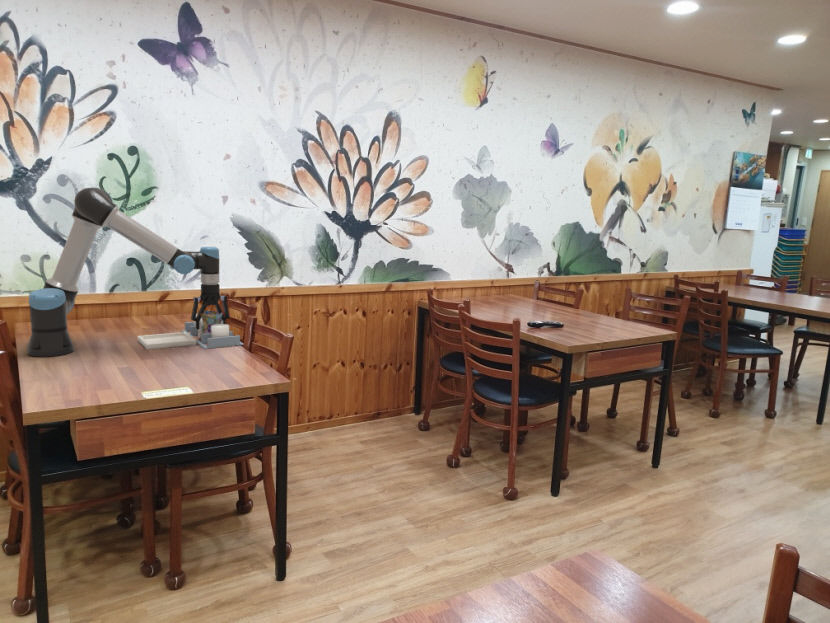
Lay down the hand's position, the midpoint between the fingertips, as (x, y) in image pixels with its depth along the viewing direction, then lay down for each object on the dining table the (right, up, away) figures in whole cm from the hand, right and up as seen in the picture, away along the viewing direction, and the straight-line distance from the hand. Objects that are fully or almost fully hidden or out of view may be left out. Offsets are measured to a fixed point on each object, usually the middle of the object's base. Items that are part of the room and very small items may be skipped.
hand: (210, 335), depth 263 cm
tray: (-14, -3, -11) cm, 18 cm away
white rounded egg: (+7, -3, -10) cm, 13 cm away
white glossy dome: (-7, +1, +10) cm, 12 cm away
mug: (0, -1, 0) cm, 1 cm away
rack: (0, -1, 0) cm, 1 cm away
